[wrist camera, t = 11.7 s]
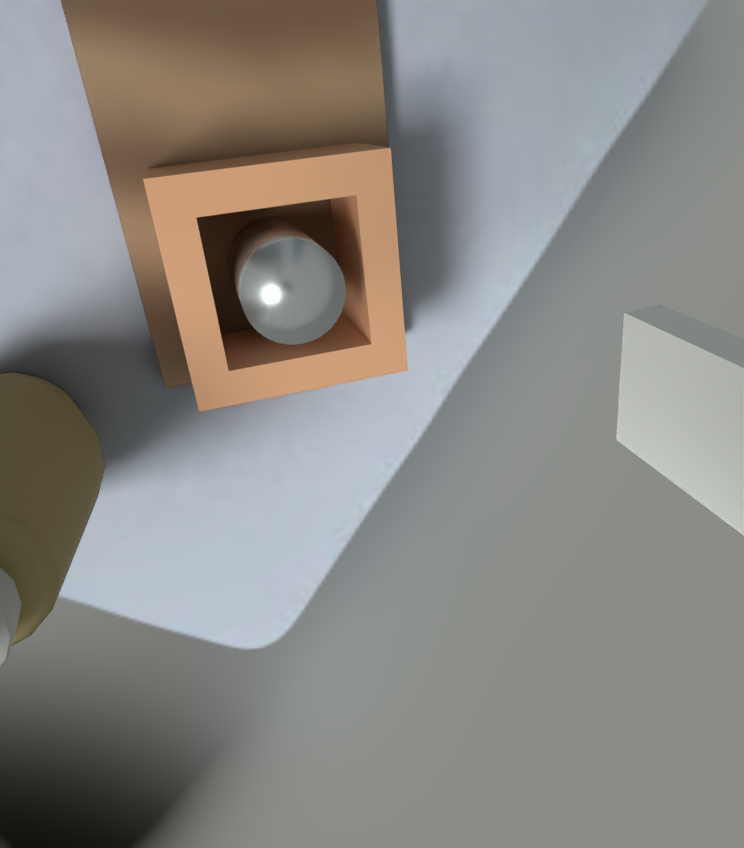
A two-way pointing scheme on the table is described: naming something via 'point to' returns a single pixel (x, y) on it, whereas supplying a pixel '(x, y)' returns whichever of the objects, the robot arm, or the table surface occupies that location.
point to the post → (285, 281)
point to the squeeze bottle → (40, 498)
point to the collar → (356, 254)
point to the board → (221, 115)
